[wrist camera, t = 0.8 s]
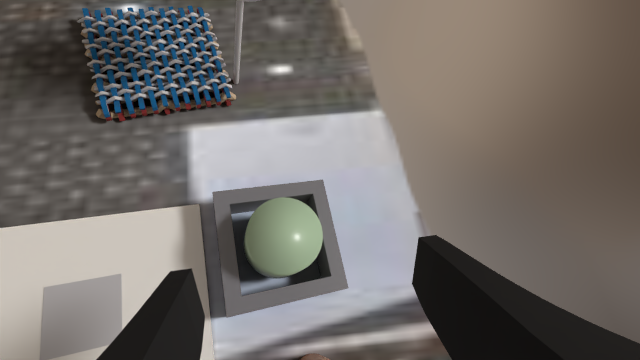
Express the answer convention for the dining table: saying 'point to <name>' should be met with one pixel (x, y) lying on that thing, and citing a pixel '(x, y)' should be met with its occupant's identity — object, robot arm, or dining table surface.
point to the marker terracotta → (314, 357)
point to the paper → (92, 279)
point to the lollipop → (238, 38)
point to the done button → (282, 237)
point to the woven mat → (153, 61)
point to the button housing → (224, 207)
